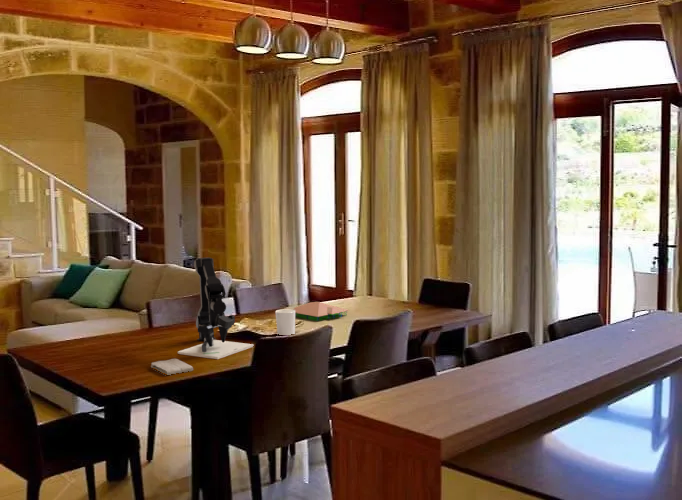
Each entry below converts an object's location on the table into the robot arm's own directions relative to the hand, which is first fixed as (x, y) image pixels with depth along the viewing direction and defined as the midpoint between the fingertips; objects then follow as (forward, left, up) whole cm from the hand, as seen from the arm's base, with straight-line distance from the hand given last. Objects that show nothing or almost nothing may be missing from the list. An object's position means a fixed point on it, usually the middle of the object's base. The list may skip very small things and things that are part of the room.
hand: (217, 344), depth 325 cm
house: (-3, +87, -4) cm, 87 cm away
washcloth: (+3, -32, -4) cm, 33 cm away
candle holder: (+10, +39, -3) cm, 41 cm away
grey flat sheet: (-1, +1, -3) cm, 3 cm away
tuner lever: (-4, -3, -2) cm, 5 cm away
